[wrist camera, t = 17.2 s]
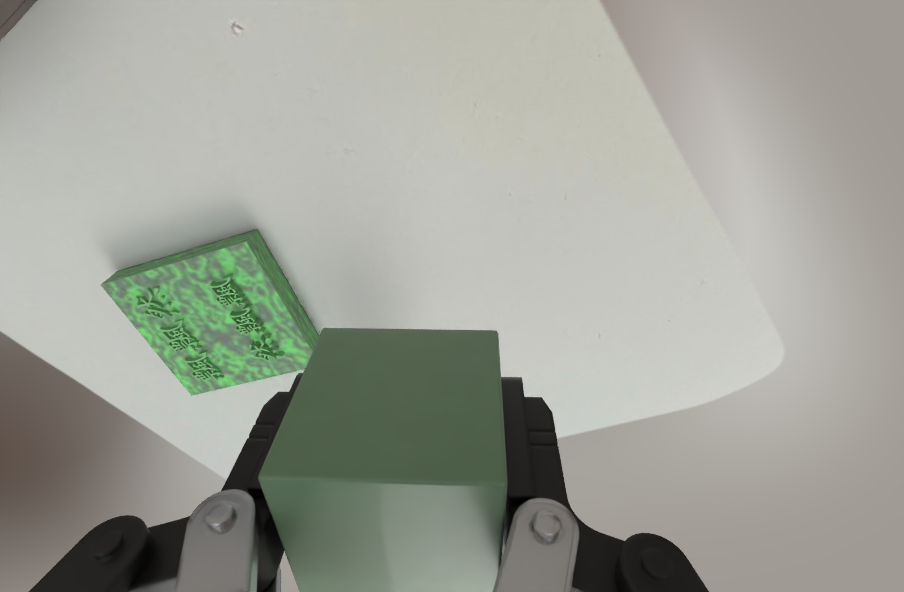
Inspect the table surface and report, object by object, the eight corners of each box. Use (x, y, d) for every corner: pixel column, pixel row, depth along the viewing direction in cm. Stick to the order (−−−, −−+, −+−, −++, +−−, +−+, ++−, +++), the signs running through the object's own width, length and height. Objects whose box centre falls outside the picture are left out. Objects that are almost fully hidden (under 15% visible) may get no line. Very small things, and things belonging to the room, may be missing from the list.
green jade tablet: (326, 349, 40) (318, 370, 38) (202, 379, 42) (188, 399, 40) (257, 229, 34) (243, 245, 32) (117, 271, 36) (95, 288, 34)
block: (322, 326, 12) (255, 477, 9) (498, 329, 12) (508, 484, 8) (345, 444, 15) (301, 601, 11) (492, 447, 15) (497, 609, 11)
